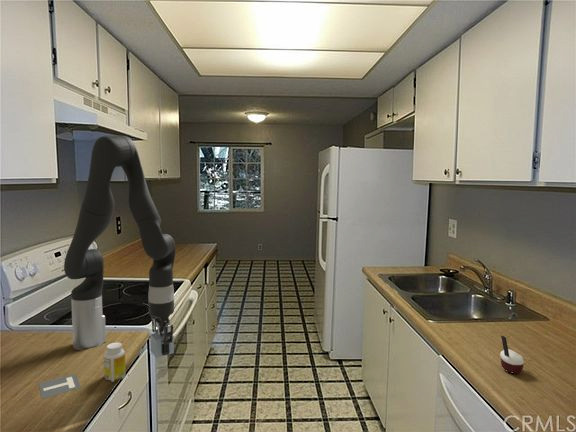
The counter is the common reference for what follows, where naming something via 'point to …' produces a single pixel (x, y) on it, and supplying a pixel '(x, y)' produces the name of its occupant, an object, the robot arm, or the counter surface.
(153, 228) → the robot arm
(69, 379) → the board
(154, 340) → the blue block
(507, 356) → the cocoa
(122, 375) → the supplement bottle
